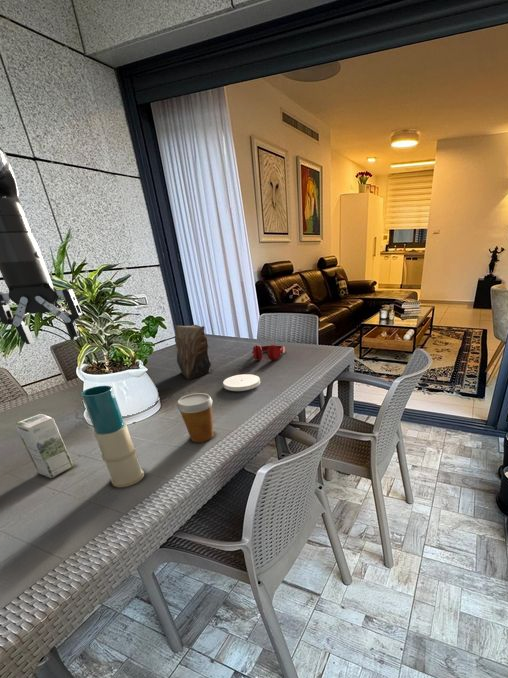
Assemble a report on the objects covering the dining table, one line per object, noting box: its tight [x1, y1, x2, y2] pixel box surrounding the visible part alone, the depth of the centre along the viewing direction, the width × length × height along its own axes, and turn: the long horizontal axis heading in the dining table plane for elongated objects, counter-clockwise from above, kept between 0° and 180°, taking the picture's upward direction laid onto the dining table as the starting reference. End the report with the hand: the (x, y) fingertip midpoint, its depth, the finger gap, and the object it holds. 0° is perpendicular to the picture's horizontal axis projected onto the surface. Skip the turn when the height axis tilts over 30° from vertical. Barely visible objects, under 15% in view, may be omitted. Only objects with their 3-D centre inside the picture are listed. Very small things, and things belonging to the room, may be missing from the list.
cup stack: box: [93, 421, 145, 488], centre depth 82 cm, size 7×7×14 cm
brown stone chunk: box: [174, 324, 212, 380], centre depth 149 cm, size 13×13×20 cm
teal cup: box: [80, 385, 125, 434], centre depth 77 cm, size 6×6×9 cm
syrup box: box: [14, 413, 74, 479], centre depth 86 cm, size 6×6×14 cm
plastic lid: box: [222, 373, 261, 392], centre depth 136 cm, size 14×14×2 cm
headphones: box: [251, 344, 286, 361], centre depth 171 cm, size 15×7×20 cm
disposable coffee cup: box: [176, 392, 214, 443], centre depth 100 cm, size 10×10×12 cm
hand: (52, 341), depth 77 cm, fingers open, 8 cm apart
